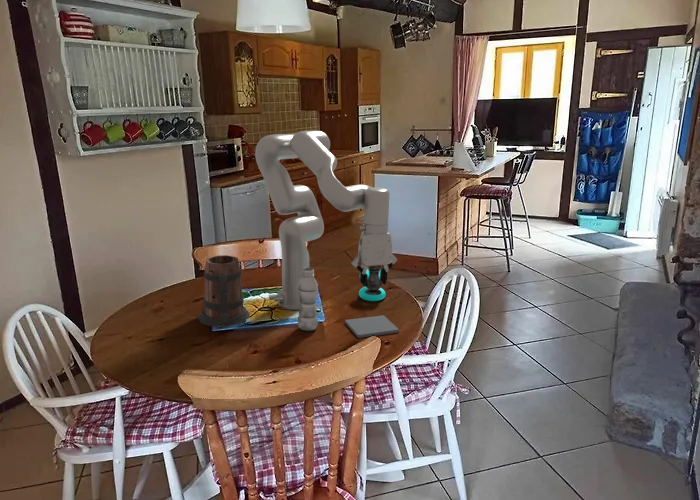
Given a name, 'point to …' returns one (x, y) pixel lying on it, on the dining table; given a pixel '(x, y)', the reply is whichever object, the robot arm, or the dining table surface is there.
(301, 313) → the plastic bottle
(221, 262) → the tankard
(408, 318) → the dining table surface
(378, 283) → the stone chess piece
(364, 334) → the mat
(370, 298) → the donuts
